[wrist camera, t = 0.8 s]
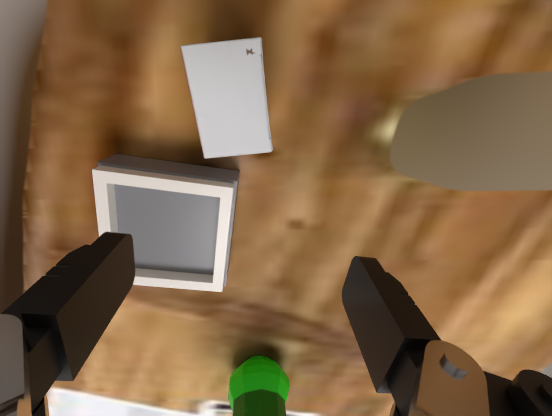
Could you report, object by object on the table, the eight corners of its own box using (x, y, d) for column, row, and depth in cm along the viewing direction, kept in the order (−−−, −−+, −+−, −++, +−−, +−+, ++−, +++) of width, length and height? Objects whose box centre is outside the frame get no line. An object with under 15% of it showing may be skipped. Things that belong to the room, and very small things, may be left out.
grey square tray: (116, 153, 30) (88, 166, 25) (239, 171, 32) (236, 185, 27) (123, 256, 36) (101, 284, 31) (228, 266, 37) (224, 294, 32)
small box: (205, 59, 27) (177, 41, 18) (260, 53, 27) (261, 33, 18) (219, 138, 30) (202, 160, 21) (268, 133, 31) (273, 153, 21)
